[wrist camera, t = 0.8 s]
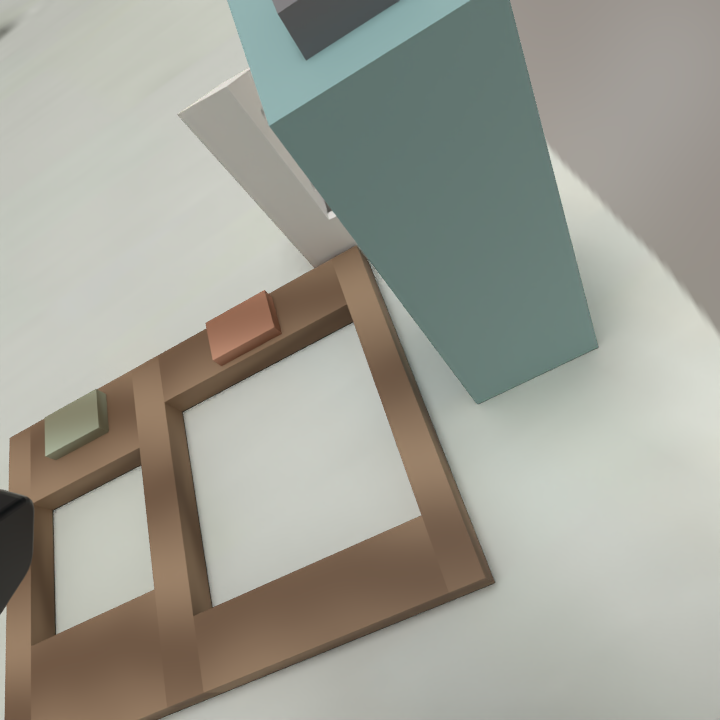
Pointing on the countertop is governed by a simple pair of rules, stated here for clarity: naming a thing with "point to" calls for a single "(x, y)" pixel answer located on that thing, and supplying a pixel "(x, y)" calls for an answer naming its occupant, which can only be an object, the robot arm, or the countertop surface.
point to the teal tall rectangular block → (431, 169)
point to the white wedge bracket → (266, 167)
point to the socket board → (182, 531)
